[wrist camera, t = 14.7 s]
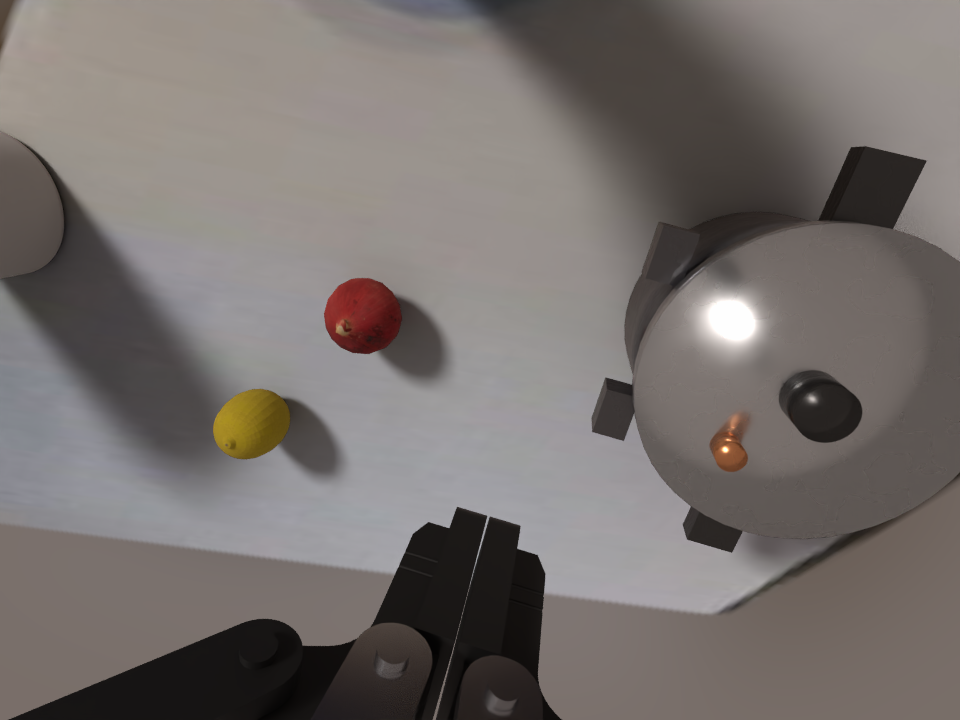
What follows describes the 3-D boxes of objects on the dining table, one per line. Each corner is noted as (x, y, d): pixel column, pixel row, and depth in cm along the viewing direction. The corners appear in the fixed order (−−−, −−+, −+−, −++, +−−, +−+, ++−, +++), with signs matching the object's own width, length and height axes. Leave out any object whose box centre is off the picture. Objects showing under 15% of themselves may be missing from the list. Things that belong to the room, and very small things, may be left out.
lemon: (242, 414, 52) (187, 455, 45) (258, 366, 50) (203, 401, 43) (294, 441, 52) (248, 486, 45) (313, 393, 50) (267, 433, 43)
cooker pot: (669, 122, 38) (706, 105, 27) (938, 187, 37) (1094, 196, 26) (568, 431, 47) (565, 513, 36) (781, 492, 46) (847, 597, 35)
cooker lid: (697, 181, 28) (715, 184, 25) (1063, 271, 27) (1139, 288, 23) (593, 474, 35) (595, 510, 31) (883, 558, 33) (921, 607, 30)
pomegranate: (426, 304, 46) (397, 331, 38) (384, 351, 48) (349, 385, 40) (373, 256, 45) (333, 274, 38) (333, 305, 47) (287, 331, 40)
